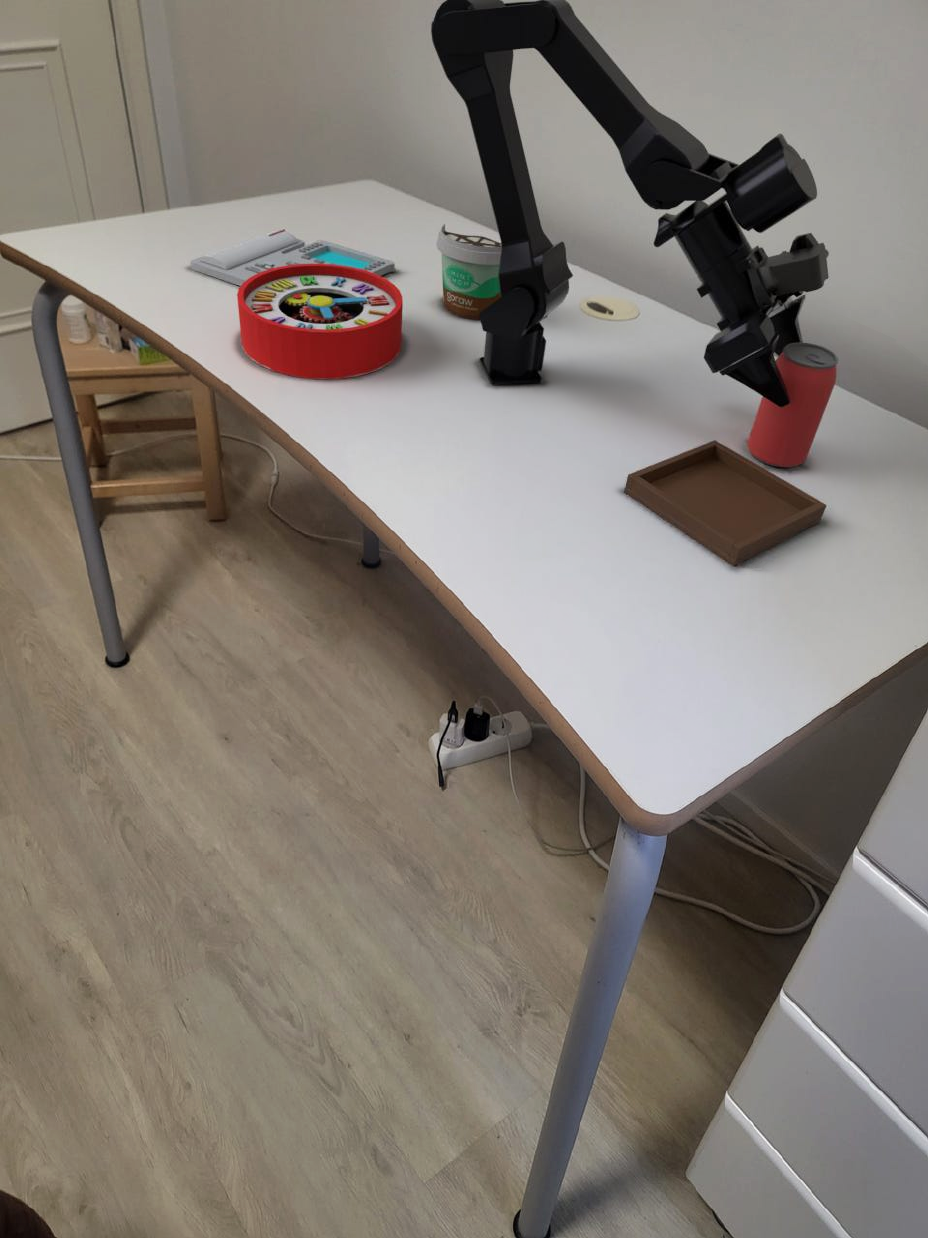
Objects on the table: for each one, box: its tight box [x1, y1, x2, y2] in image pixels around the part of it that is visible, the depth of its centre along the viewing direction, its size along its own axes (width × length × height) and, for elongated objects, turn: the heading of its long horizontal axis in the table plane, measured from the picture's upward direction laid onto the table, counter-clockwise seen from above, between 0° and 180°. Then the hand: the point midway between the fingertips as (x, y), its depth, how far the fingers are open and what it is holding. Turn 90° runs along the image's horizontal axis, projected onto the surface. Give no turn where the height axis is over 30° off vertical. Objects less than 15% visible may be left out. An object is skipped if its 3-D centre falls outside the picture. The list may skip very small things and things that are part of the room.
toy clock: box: [236, 264, 404, 380], centre depth 110 cm, size 20×6×20 cm
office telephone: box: [189, 228, 396, 287], centre depth 128 cm, size 23×3×20 cm
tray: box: [623, 439, 827, 567], centre depth 89 cm, size 15×14×2 cm
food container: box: [435, 223, 501, 321], centre depth 119 cm, size 12×6×10 cm, turn 68°
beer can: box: [746, 342, 839, 469], centre depth 95 cm, size 7×7×12 cm
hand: (795, 387), depth 94 cm, fingers open, 9 cm apart
